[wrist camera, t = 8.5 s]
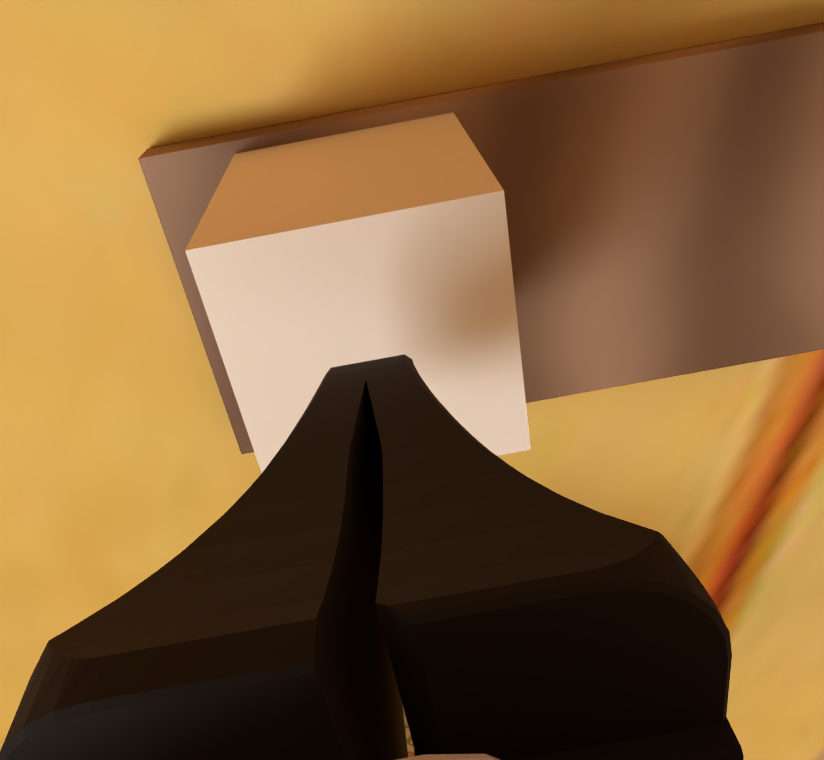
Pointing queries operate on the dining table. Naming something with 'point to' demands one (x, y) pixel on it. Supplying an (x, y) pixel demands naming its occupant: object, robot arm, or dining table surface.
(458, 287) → the tan rectangular block
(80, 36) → the dining table surface
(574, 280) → the stand
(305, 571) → the robot arm
